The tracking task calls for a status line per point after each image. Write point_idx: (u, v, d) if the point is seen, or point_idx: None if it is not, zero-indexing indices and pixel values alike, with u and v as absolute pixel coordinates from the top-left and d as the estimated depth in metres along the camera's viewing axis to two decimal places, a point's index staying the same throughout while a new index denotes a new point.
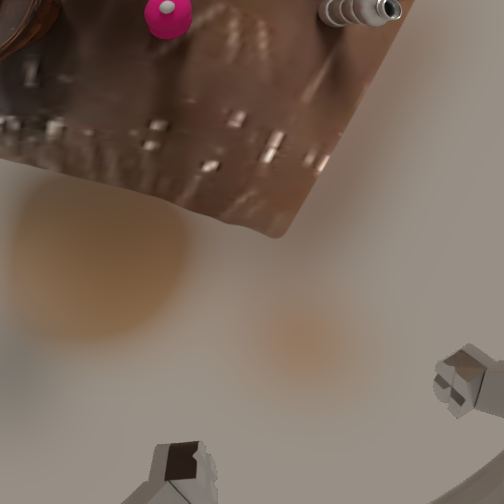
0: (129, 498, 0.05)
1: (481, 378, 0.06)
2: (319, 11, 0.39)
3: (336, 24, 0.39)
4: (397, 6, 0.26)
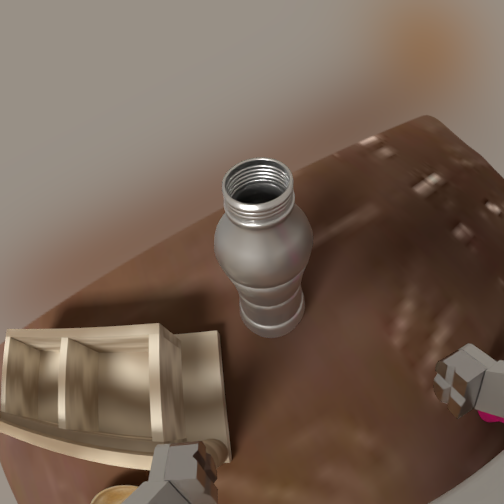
0: (129, 498, 0.05)
1: (481, 378, 0.06)
2: (300, 319, 0.29)
3: None
4: (226, 189, 0.15)
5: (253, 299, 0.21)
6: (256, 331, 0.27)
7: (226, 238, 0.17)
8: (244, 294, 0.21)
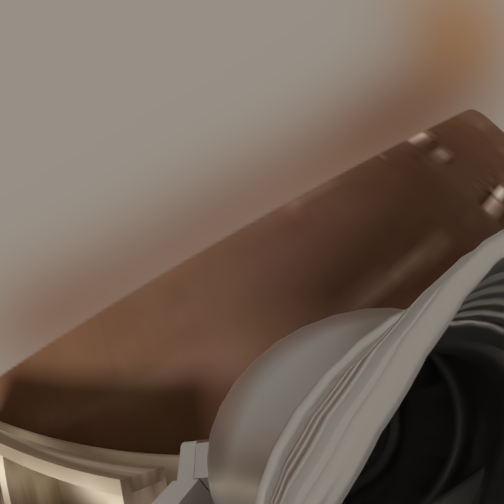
0: (158, 499, 0.05)
1: None
2: None
3: None
4: None
5: None
6: None
7: None
8: None
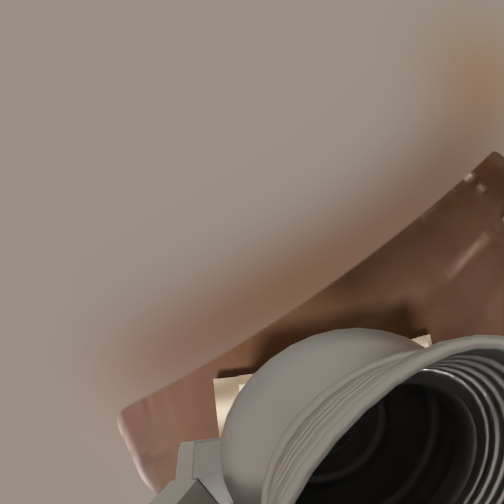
0: (156, 499, 0.05)
1: None
2: None
3: None
4: None
5: None
6: None
7: None
8: None
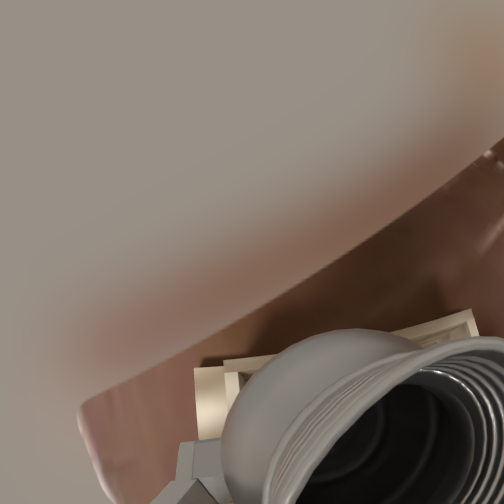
0: (156, 499, 0.05)
1: None
2: None
3: None
4: None
5: None
6: None
7: None
8: None
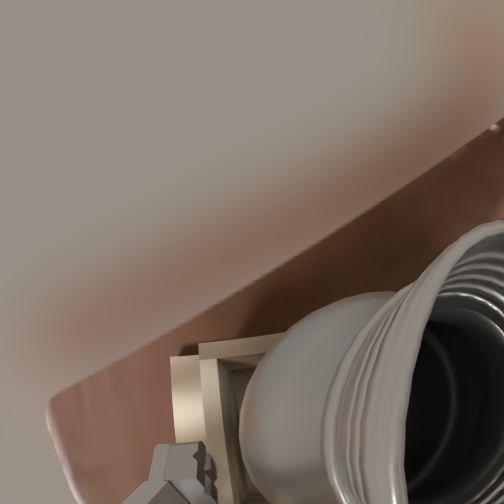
0: (129, 498, 0.05)
1: None
2: None
3: None
4: (371, 443, 0.02)
5: None
6: None
7: (303, 496, 0.04)
8: None
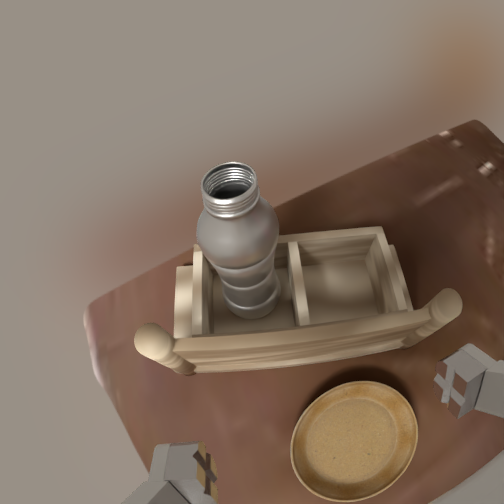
0: (129, 498, 0.05)
1: (481, 378, 0.06)
2: None
3: None
4: (204, 188, 0.19)
5: (231, 280, 0.25)
6: (237, 312, 0.31)
7: (205, 227, 0.21)
8: (223, 276, 0.25)
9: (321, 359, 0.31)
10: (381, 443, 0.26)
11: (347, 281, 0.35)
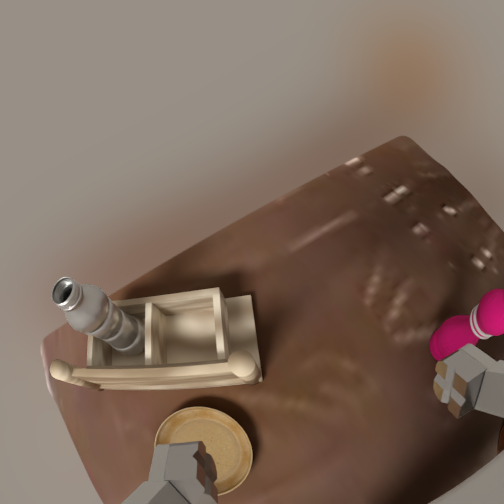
0: (129, 498, 0.05)
1: (481, 378, 0.06)
2: None
3: (136, 319, 0.42)
4: (55, 292, 0.28)
5: None
6: (118, 351, 0.41)
7: (64, 311, 0.30)
8: None
9: (177, 387, 0.40)
10: (227, 456, 0.35)
11: (203, 328, 0.45)
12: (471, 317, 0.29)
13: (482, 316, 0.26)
